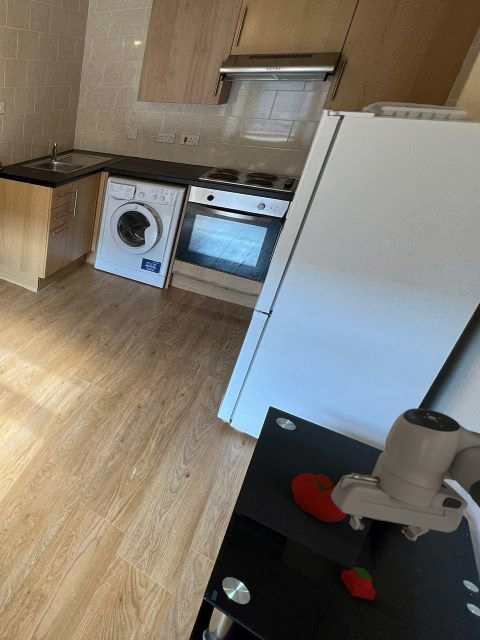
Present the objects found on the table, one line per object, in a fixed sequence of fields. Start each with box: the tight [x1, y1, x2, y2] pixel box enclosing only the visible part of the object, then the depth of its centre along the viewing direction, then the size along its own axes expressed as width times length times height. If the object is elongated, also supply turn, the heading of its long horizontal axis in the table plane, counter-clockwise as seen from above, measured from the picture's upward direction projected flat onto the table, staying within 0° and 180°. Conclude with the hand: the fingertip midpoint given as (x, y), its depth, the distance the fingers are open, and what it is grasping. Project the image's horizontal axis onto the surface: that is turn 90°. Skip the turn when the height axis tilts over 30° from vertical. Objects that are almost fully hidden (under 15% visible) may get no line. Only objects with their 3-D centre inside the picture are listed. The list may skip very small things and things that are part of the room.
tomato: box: [291, 472, 348, 523], centre depth 109 cm, size 11×12×9 cm
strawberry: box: [340, 566, 377, 601], centre depth 91 cm, size 4×4×5 cm
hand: (381, 532), depth 86 cm, fingers open, 8 cm apart
